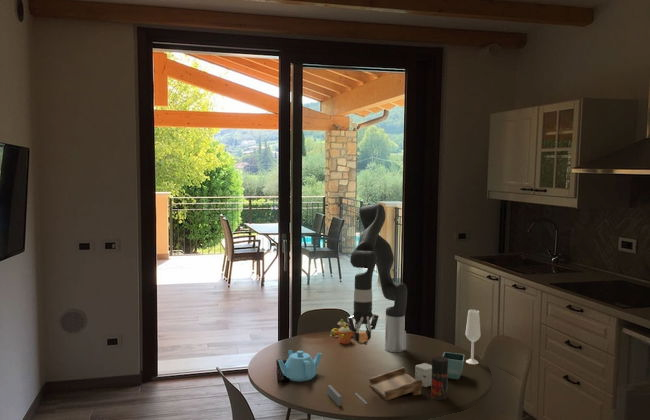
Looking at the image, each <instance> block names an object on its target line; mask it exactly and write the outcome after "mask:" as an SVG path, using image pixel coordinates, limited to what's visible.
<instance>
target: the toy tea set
mask: <svg viewBox="0 0 650 420" xmlns="http://www.w3.org/2000/svg"><path fill="white" fill-rule="evenodd" d="M336 324H337V325H338V326H339V328H336V327H334V328H332V329H331V331H330V334H329V336H330V337H333V338H337V339H338V343H339V344H343V345H346V344H350V343H352V341H351V340H352V339H353V342H354V343H356V342H357V341H355V340H354V338H351V337H354V332H352V331H351V330H350V329H349V325H348V322H345V321H344V319H342V318H341V319H340V321H338V322H337V323H336ZM356 344H365V343H364V342H363V343H362V342H357V343H356Z"/></svg>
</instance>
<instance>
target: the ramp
mask: <svg viewBox="0 0 650 420" xmlns="http://www.w3.org/2000/svg"><path fill="white" fill-rule="evenodd" d="M368 380H369V387H370V388H371V389H372V390H374V391H375V392H376V393H377V394H378V395H379V396H381V398H383V400H385V401H390V400H392V399H395V398H399V397H402V396H403V395H407V394H409V393H410V394H412V396H419V395H422V389H423V386H422V379H419V380H415V377H412V376H411V375H409V374H408V373H407V372H406V368H405V367H404V366H402V367H400V368H397V369H394V370H390V371H388V372H384V373H381V374H379V375H375V376H371V377H370V378H368Z"/></svg>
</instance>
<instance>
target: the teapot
mask: <svg viewBox="0 0 650 420" xmlns="http://www.w3.org/2000/svg"><path fill="white" fill-rule="evenodd" d="M287 351H288V352H287V353H288V358H287V359H286V362H284V361H283V360H282V359H278V360H277V363H278V365H279V368H280V370H281V372H282V374H283V376H284V377H285V376H286V377H287V378H289V379H290V380H289V379H288V380H289V381H292V382H306V381H311V380H312V379H313V378H315V376H316V375H317V370H318V368H319V364H320V360H321V358H322V353H321V352H317V354H316V355H315V356H314V359H313V357H312V356H311V355H310V354H309V353H307V352H304V350H297V351H296V352H293V350H291V349H289V350H287ZM286 377H285V378H286ZM287 378H286V379H287Z"/></svg>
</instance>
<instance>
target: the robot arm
mask: <svg viewBox="0 0 650 420" xmlns="http://www.w3.org/2000/svg"><path fill="white" fill-rule="evenodd" d="M386 216H387V215H386V210H385V207H384V205H383V204H380V203H375V204H370V205H364V206H361V207H360V209H359V218H360V221H361V224H362V226H363V229H364V230H363V231H362V233H361V235H360V238H359V241H358V244H357V246H356V247H355V248H354V250H353V251H352V252H351V255H350V258H349V261H350V264H351V266H352V267H353V268H357V269H366V271H365V272H359V273H356V274H355V276H354V291H353V314H352V315H351V316H346V321H347V322H346V323H348V325H349V329H350V330H351V331H352V332H354V339H353V341H354V340H355V341H357V342H359V332H360V328H361V327H362V325H364V326H365V329H366V330H365V333H366V334H367V335H368V339H367V341H370V340H371V338H372V330H373V331H374V330H375V329H376V327H377V324H378V321H379V317H380V316H379V315H378V314H376V313H373V312H372V311H373V289H372V288H373V285H372V284H373V274H374V272H375V271H374V270H375V267H376V269H377V273H378V276H379V281H380V286H381V291H382V294H383V297H384V298H385V299H386V300H388V301H392V302H393V303H394V304H393V306H389V307H386V309H385V333H384V335H385V336H384V347H385V348H384V350H386V352H390V353H401V352H404V351H406V350H407V331H406V330H405V322H406V321H405V319H406V318H405V317H406V311H407V310H406V309H407V305H408V304H407V301H408V287H407V285H406V284H405V283H404V282H398V281H394V280H393V277H392V274H391V269H392V267H393V265H394V260H395V257H394V253H393V252H394V251H393V249H392V247H391V244H390V243H389V242H388V241H387V240H386V239H385V238H383V236H381V235H380V233H381V230H382V229H383V226H384V224H385V221H386ZM370 320H371V321H370Z"/></svg>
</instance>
